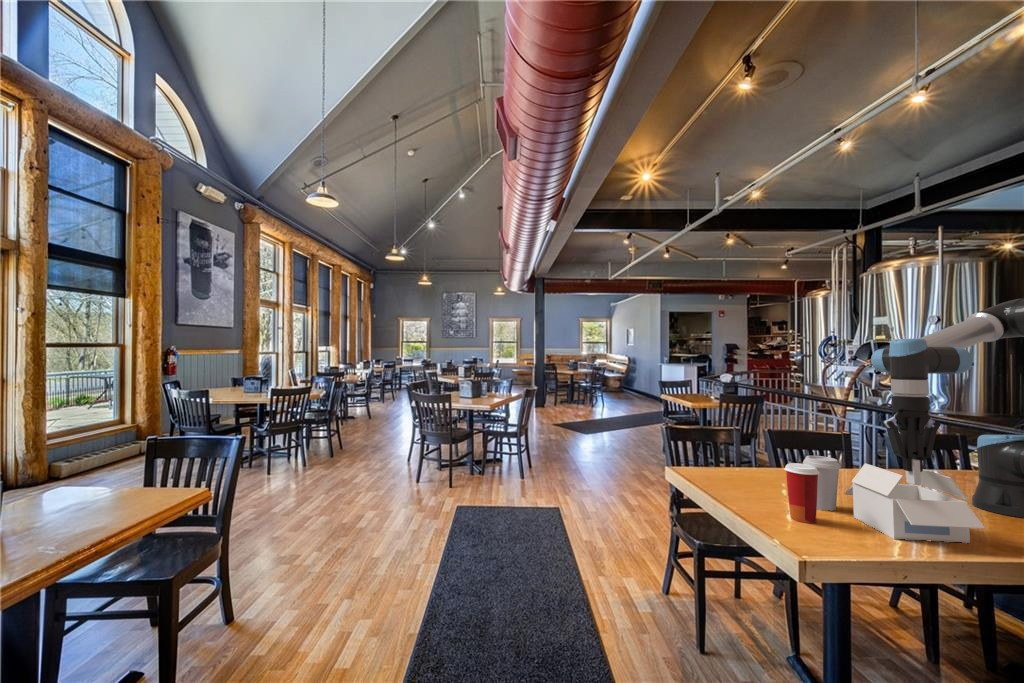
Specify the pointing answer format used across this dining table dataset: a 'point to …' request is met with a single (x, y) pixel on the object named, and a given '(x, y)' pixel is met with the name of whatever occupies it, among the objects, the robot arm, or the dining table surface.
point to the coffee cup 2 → (825, 480)
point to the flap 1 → (877, 479)
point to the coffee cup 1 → (802, 491)
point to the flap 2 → (941, 484)
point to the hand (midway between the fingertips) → (913, 483)
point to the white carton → (914, 513)
